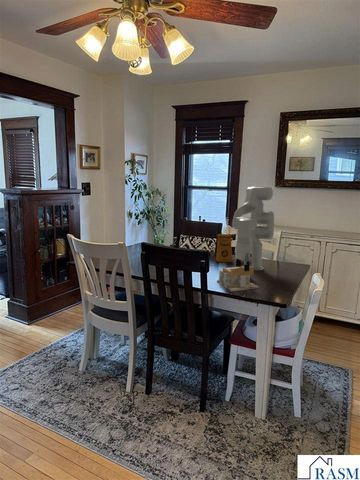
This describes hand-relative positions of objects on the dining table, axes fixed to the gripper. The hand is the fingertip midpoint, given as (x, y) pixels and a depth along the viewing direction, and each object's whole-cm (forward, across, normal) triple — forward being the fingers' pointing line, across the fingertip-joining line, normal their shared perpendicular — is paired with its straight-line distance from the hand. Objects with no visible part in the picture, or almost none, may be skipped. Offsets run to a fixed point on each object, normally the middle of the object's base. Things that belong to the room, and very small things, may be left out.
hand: (242, 268), depth 195 cm
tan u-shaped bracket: (+4, -5, 0) cm, 7 cm away
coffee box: (+12, -20, +13) cm, 27 cm away
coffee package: (+12, -60, +19) cm, 65 cm away
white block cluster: (+12, -6, 0) cm, 13 cm away
